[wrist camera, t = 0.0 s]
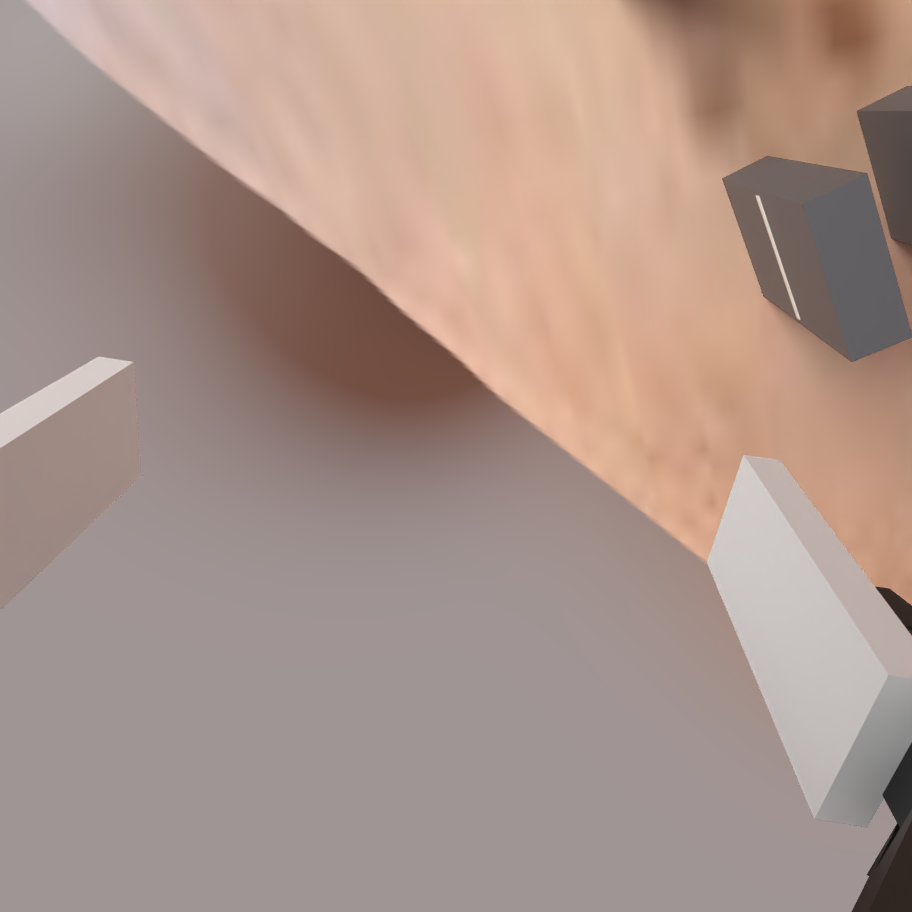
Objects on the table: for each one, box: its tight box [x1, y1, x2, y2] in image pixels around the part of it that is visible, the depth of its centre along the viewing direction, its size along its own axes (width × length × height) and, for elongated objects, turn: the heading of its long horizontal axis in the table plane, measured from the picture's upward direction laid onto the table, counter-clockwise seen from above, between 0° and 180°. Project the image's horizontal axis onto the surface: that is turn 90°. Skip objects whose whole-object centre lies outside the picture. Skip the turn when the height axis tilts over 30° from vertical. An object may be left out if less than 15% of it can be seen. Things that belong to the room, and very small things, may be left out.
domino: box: [722, 156, 912, 362], centre depth 34 cm, size 2×7×12 cm, turn 28°
